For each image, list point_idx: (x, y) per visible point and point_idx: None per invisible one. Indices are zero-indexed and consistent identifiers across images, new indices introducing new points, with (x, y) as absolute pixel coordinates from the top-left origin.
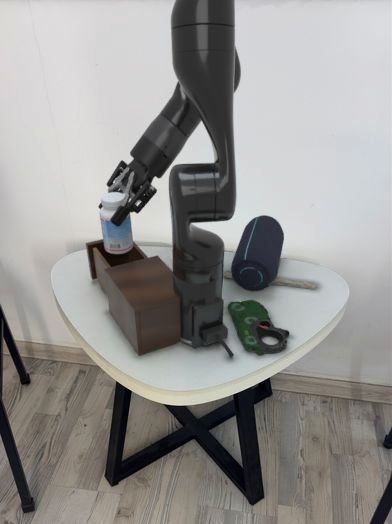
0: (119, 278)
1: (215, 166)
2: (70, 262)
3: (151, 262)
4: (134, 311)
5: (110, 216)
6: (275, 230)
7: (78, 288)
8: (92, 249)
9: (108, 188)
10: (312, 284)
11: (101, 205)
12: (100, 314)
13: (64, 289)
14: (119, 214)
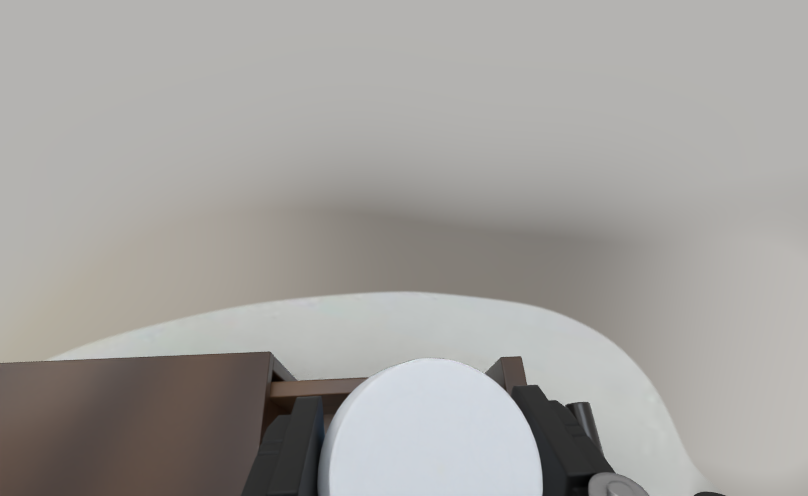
0: (170, 385)
1: None
2: (606, 360)
3: None
4: None
5: (342, 406)
6: None
7: (458, 344)
8: (498, 380)
9: (641, 489)
10: None
11: (521, 399)
12: (312, 363)
13: (466, 310)
14: (267, 458)
